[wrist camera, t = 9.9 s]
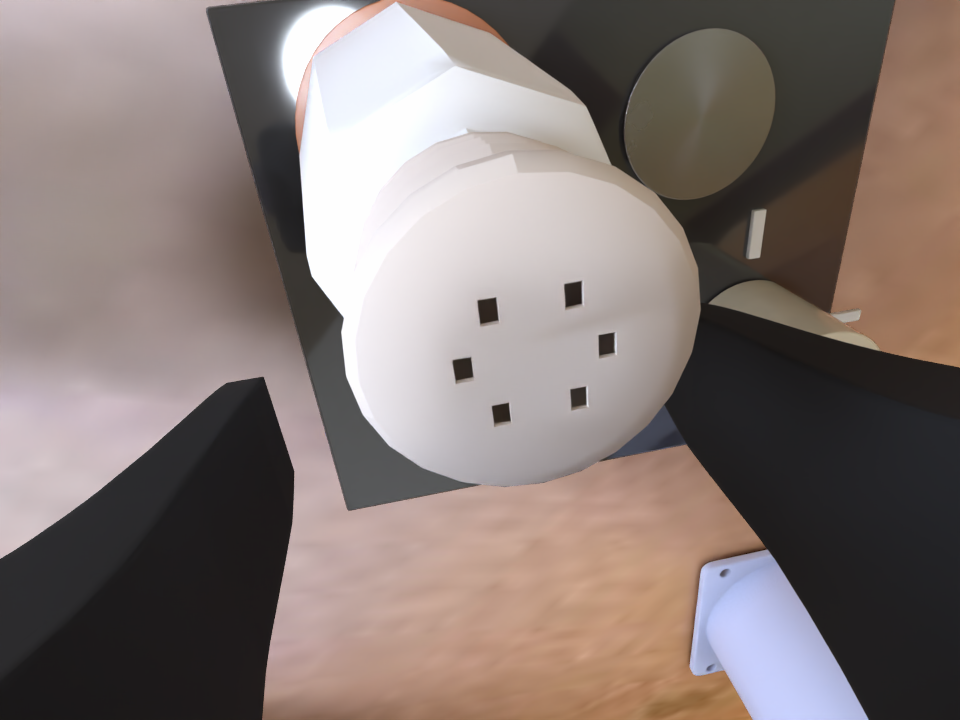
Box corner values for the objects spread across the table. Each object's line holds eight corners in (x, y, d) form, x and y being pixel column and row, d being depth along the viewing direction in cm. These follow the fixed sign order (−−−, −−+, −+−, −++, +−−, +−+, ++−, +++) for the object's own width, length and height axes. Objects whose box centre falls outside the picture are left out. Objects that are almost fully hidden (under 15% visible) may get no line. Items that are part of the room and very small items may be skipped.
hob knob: (805, 270, 18) (910, 326, 14) (787, 374, 19) (876, 445, 16) (691, 289, 17) (771, 351, 14) (683, 393, 19) (752, 470, 16)
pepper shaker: (328, 265, 15) (270, 667, 5) (265, 18, 12) (-67, -37, 3) (537, 230, 15) (818, 541, 6) (520, -15, 13) (979, -156, 3)
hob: (867, -60, 16) (952, -76, 14) (788, 380, 23) (835, 419, 21) (227, 11, 14) (202, 6, 12) (348, 463, 21) (347, 515, 19)
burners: (790, -47, 14) (795, -48, 13) (733, 393, 20) (737, 396, 19) (265, 11, 12) (264, 11, 12) (374, 461, 18) (374, 465, 18)
